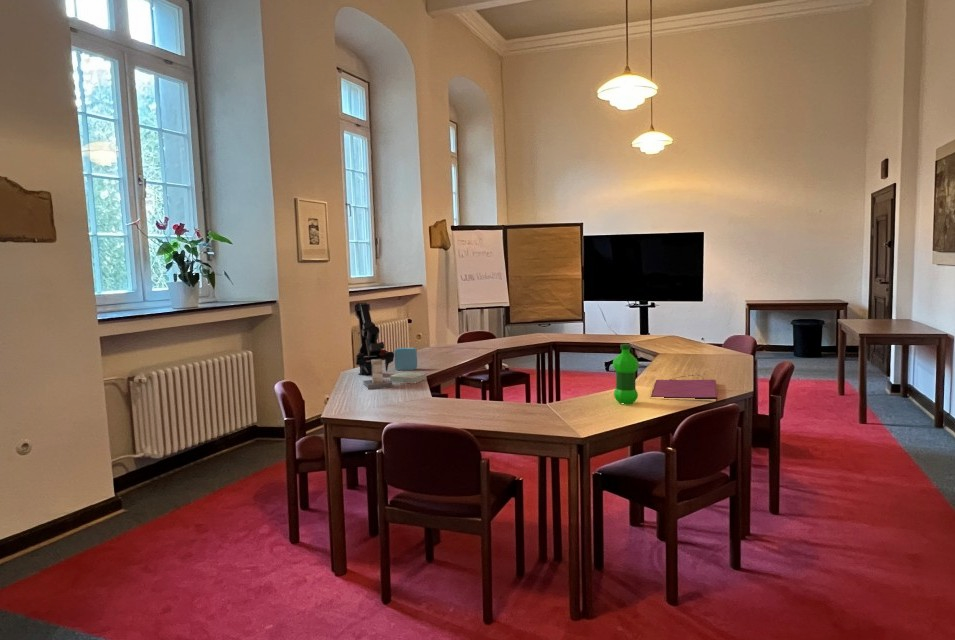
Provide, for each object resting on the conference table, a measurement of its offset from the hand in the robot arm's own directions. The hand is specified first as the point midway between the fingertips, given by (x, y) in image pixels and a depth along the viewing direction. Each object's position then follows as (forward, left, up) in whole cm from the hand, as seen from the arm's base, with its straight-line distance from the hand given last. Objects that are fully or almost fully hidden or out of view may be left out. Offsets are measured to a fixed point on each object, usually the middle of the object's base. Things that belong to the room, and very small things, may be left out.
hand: (377, 371), depth 326 cm
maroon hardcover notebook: (+137, +51, -8) cm, 146 cm away
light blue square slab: (-14, +42, -7) cm, 45 cm away
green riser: (+6, +17, -7) cm, 20 cm away
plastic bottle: (+121, +15, -7) cm, 122 cm away
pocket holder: (-1, +1, -7) cm, 7 cm away
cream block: (-1, +1, -7) cm, 7 cm away
